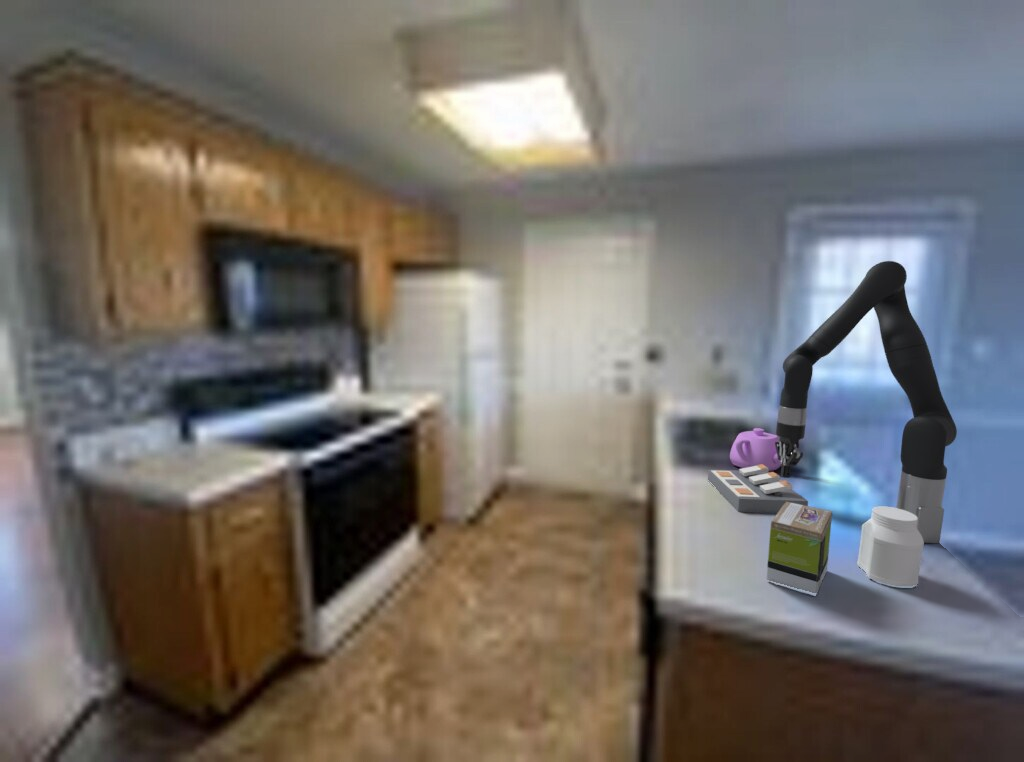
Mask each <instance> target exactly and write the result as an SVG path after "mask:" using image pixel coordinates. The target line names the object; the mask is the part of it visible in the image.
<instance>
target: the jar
mask: <svg viewBox="0 0 1024 762" xmlns="http://www.w3.org/2000/svg"><path fill="white" fill-rule="evenodd" d="M917 522H918V518H917V516H916V515H914V514H912V513H910V512H908V511H905V510H902V509H898V508H897V507H893V506H892V507H891V506H886V505H885V506H884V505H882V506H881V505H880V506H879V505H878V506H874V507H873V508H872V510H871V517H870V518H869V519H868V520H866V522H864V523H863V524H862V525H861V533H860V535H861V536H860V542H859V550H858V557H857V558H858V559H857V560H856V561H857V562H856V566H857V565H858V566H859V567H860V568H861V569H860V568H859V567H858V566H857V567H858V568H859V569H860V570H862V569H863V570H864V571H865V572H866V574H867V575H866V574H865V575H866V577H867V576H868V577H869V578H871V579H873V580H876V581H879V582H882V583H885V584H890V585H895V586H913V585H916V584H918V585H919V577H920V569H921V561H922V555H923V549H924V545H925V543H924V541H923V538H922V536H921V534H920V532H919V531H918V529H917ZM863 570H862V571H863ZM864 571H863V572H864ZM865 572H864V573H865Z"/></svg>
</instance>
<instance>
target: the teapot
mask: <svg viewBox="0 0 1024 762" xmlns="http://www.w3.org/2000/svg"><path fill="white" fill-rule="evenodd" d="M779 439H780V437H779V436H777V435H776V434H774V433H769V432H765V429H763V428H759V427H758V428H757V427H755V428H753V430H747V431H742V432H740V433H738V435H737V436H736V439H735V440H734V441H733V443H732V446H731V449H730V453H729V459H730V461H731V463H732V464H733V465H734V466H736V467H739V468H740V469H742V468H747V467H752V466H756V465H760V464H763V465H764V466H766V467H767V468H768V470H769V472H774V471H776V470H778V469H779V468H780V467H782V464H781V460H778V456H777V451H776V447H775V442H779V441H780V440H779Z"/></svg>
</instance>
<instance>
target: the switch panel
mask: <svg viewBox="0 0 1024 762" xmlns="http://www.w3.org/2000/svg"><path fill="white" fill-rule="evenodd" d="M766 473H770V471H769V472H764V473H759V474H754V475H749V476H743V475H742V474H741V473H740V471H739V469H738V470H735V469H734V470H732V469H708V472H707V481H708V480H709V481H710V482H711V483H712V484H713V485H714V486H715V487H716V489H717V490H718V491H719V492H720V493H721V494H722V495H723V496H724V497H725V498H724V497H723V496H722V495H721V494H720V493H719V492H718V491H717V490H716V489H715V490H716V491H717V492H718V493H719V494H720V495H721V496H722V497H723V498H724V499H725V500H726V501H727V502H728V503H729V504H730V505H731V506H732V507H733V508H734V509H735V510H736V511H737V512H741V513H742V512H743V513H768V514H769V513H770V514H777V513H778V512H779V511H780V509H781V508H782V506H783V505H784V504H785V503H786V502H791V503H795V504H800V505H804V506H809V501H808V499H806V498H805V497H803V496H802V495H801V494H799V493H798V492H797V491H795V490H794V489H789V490H784V491H779V492H774V493H769V494H765V493H764V492H763V491H762V490H760V485H765V484H770V483H775V482H779V481H781V479H780V480H776V481H771V482H766V483H761V484H756V485H754V484H753V483H752V482H751V481H749V477H751V476H756V475H761V474H766ZM709 481H708V482H709ZM710 482H709V483H710ZM711 483H710V484H711ZM712 484H711V485H712ZM713 485H712V486H713ZM714 486H713V487H714Z"/></svg>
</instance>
